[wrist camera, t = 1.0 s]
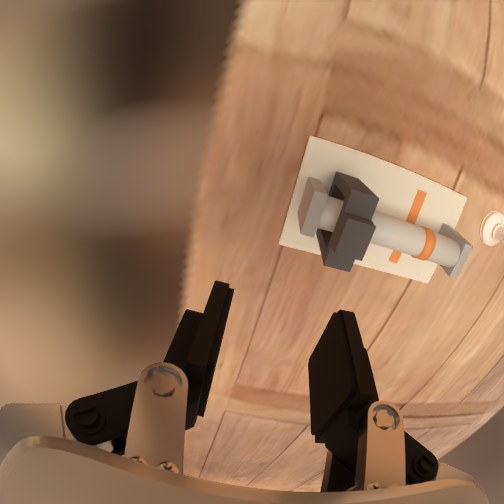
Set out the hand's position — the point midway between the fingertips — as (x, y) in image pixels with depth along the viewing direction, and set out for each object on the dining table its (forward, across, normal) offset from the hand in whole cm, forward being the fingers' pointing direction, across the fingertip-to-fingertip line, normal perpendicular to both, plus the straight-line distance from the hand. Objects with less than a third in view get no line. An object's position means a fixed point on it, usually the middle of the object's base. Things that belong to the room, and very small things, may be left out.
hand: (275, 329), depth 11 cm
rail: (+21, -12, 0) cm, 24 cm away
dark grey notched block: (+20, -6, 0) cm, 21 cm away
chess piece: (+21, -29, -4) cm, 36 cm away
